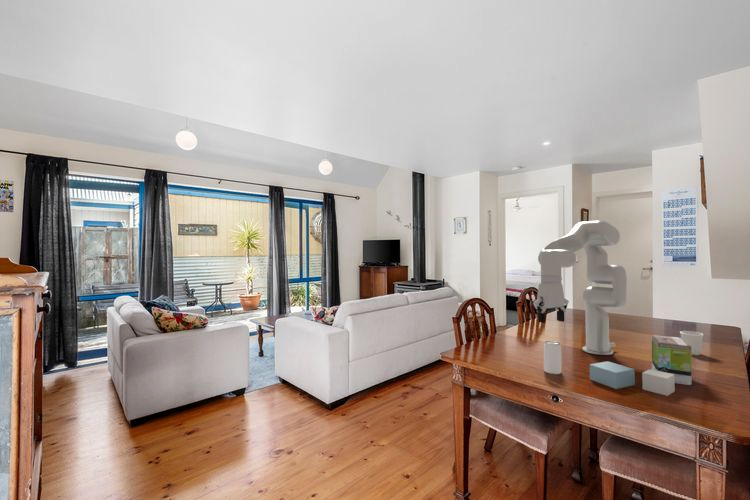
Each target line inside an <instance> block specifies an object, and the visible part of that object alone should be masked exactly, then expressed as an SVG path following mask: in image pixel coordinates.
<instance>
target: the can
mask: <svg viewBox="0 0 750 500" xmlns="http://www.w3.org/2000/svg"><path fill="white" fill-rule="evenodd" d="M562 369H563V368H562V347H561V343H560V342H558V341H553V340H546V341H544V343H543V371H544V373H546V374H549V375H560V374H561V373H562V372H563V371H562Z"/></svg>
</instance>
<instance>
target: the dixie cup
mask: <svg viewBox="0 0 750 500" xmlns="http://www.w3.org/2000/svg"><path fill="white" fill-rule="evenodd" d="M679 333H680V338H683V339H684V340H685V341H686V342H687V343H688V344H690V345H691V351H692V354H691V356H700V355H701V351H702V345H703V344H702V343H703V338H704V334H703V333H702V332H699V331H698V332H697V331H690V330H681V331H679Z"/></svg>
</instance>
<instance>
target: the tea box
mask: <svg viewBox="0 0 750 500" xmlns="http://www.w3.org/2000/svg"><path fill="white" fill-rule="evenodd" d="M691 354H692V351H691V345H690V344H688V343H687V342H686V341H685V340H684V339H683V338H681V337H677V336H668V335H667V336H666V335H665V336H664V335H657V334H652V335H651V369H653V370H657V371H661V372H666V373H670V374H674V380H675V384H679V385H686V386H691V385H692V380H693V379H692V371H693V370H692V360H693V359H692V355H691Z"/></svg>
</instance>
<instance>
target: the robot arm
mask: <svg viewBox="0 0 750 500" xmlns="http://www.w3.org/2000/svg"><path fill="white" fill-rule="evenodd" d="M620 241H621V236H620V232H619V230H618V228H617V227H615V226H614V225H612V224H611V223H609V222H607V221H605V220H590V221H589V220H588V221H580V222H578V223H576V224H575V225H573V226H572V228H571V229H570V230H569V231H568V232H567V233H566V235H564V236H562V237H560V238H557V239H555V240H553V241H551V242H549V243H547V244H545V246H544V247H543V248H542V249H541V250H540V252H538V257H537V261H538V264H539V265H540V282H539V283H538V287H537V294H536V295H537V298H536V300H534V301H533V302H532V304H533V306H534V309H535V311H536V312H537V314H538V317H537V318H538V320H537V321H538V323H543V324H545V323H546V313H545V312H546V310H547V309H556V310H557V311H556V321H557V322H565V312H566V309H567V308H568V305H569V302H570V301H569V300H568V299H566V298H565V293H564V287H563V283H562V280H563V278H562V268H563V269H564V268H566V269H567V268H571V267H572V266H575V264H576V261H577V257H576V254H575V252H578V251H580V250H582V249H583V250H584V251H585V253H586V279H587V281H588V282H589V283H591V284H596V285H612V287H608V286H607V287H605V286H595V285H594V286H588V287H586V288H584V289H583V291H582V300H583V303H584V312H585V314H584V315H585V345H584V346H582V351H583V352H585V353H588V354H593V355H599V356H611V355H613V354H614V350H612V349H611V348H612V347H616V343H615V342H610V326H609V325H610V324H609V322H610V319H609V317H610V316H609V314H608V313H607V311H606V310H605V308H610V309H622V308H624V307H625V306H626V303H627V289H628V288H627V286H628V285H627V284H628V283H627V277H628V276H627V271H626V269H625V268H624V266H622V265H620V264H608V263H609V262H608V260H609V259H608V253H607V251H606V250H605V249H604V247H605V246H606V247H611V246H616V245H618V243H619V242H620Z"/></svg>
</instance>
